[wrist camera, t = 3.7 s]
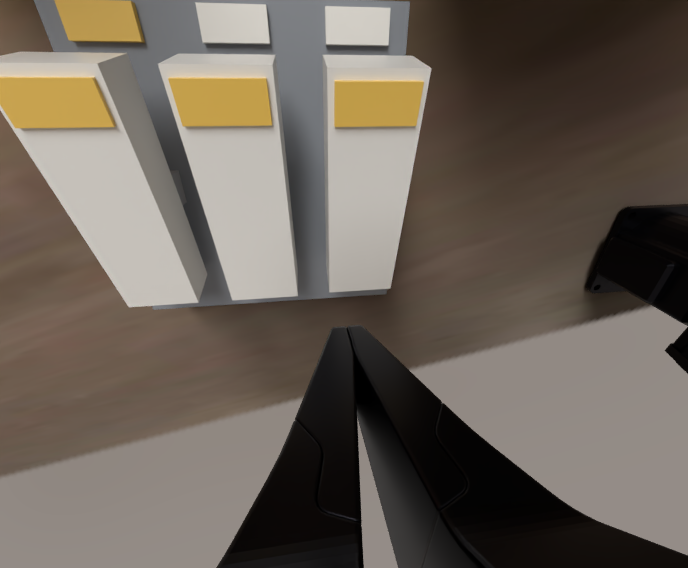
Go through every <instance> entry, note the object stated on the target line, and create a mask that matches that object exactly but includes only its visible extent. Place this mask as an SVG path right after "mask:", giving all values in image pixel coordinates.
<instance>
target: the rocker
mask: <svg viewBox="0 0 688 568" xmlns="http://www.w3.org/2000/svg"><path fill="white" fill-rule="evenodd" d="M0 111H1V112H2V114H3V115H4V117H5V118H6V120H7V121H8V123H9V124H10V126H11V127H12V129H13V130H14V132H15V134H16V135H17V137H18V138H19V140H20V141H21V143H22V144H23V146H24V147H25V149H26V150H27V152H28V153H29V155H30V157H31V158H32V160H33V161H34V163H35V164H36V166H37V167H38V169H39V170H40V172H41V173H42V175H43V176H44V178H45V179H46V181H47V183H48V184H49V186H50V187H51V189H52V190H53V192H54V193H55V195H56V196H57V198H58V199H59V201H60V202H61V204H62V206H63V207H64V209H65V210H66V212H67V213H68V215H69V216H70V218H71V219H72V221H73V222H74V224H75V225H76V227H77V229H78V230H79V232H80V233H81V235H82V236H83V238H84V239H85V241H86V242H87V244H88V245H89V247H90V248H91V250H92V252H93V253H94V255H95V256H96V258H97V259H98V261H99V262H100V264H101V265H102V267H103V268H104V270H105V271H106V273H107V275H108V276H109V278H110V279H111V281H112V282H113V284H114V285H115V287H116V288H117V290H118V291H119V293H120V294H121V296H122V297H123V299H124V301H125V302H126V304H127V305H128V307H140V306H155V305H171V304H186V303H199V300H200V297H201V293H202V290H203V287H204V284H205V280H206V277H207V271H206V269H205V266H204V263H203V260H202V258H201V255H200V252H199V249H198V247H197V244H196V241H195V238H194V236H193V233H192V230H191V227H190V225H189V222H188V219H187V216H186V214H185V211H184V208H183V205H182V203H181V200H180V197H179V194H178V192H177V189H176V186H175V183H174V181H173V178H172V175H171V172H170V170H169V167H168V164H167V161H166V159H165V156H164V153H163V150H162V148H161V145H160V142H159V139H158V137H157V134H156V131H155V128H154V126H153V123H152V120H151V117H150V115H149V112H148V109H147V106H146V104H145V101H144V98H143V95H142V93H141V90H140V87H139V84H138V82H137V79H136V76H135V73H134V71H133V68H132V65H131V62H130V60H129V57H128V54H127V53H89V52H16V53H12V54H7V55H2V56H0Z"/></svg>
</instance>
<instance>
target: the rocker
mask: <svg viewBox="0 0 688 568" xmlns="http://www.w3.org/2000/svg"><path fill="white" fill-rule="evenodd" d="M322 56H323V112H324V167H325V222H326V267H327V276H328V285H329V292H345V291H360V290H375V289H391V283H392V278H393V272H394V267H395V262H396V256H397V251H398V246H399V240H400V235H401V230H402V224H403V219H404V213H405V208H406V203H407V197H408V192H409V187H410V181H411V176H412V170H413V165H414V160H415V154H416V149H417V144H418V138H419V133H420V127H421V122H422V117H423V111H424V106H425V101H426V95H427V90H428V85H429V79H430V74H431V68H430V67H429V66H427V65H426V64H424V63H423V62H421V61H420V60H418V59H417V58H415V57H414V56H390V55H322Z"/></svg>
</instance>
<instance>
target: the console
mask: <svg viewBox="0 0 688 568" xmlns="http://www.w3.org/2000/svg"><path fill="white" fill-rule="evenodd" d="M34 2H35V5H36V7H37V10H38V12H39V15H40V18H41V20H42V23H43V25H44V28H45V31H46V33H47V36H48V38H49V41H50V43H51V46H52V49H53V51H54V52H89V53H127V54H128V57H129V60H130V62H131V65H132V68H133V71H134V73H135V76H136V79H137V82H138V84H139V87H140V90H141V93H142V95H143V98H144V101H145V104H146V106H147V109H148V112H149V115H150V117H151V120H152V123H153V126H154V128H155V131H156V134H157V137H158V139H159V142H160V145H161V148H162V150H163V153H164V156H165V159H166V161H167V164H168V167H169V170H170V172H171V175H172V178H173V181H174V183H175V186H176V189H177V192H178V194H179V197H180V200H181V203H182V205H183V208H184V211H185V214H186V216H187V219H188V222H189V225H190V227H191V230H192V233H193V236H194V238H195V241H196V244H197V247H198V249H199V252H200V255H201V258H202V260H203V263H204V266H205V269H206V271H207V277H206V280H205V284H204V287H203V290H202V293H201V297H200V300H199V303H186V304H171V305H155V306H152V307H153V310H155V309H170V308H185V307H200V306H215V305H230V304H245V303H260V302H275V301H290V300H305V299H320V298H335V297H350V296H365V295H380V294H386V293H387V289H375V290H360V291H345V292H329V285H328V276H327V267H326V222H325V167H324V112H323V56H322V55H390V56H406V45H407V33H408V20H409V8H410V2H407V1H374V0H34ZM176 54H262V55H276V63H277V73H278V83H279V93H280V102H281V112H282V122H283V132H284V141H285V151H286V161H287V171H288V180H289V190H290V200H291V210H292V219H293V229H294V239H295V249H296V259H297V268H298V296H293V297H278V298H262V299H247V300H232V298H231V294H230V291H229V288H228V285H227V282H226V279H225V275H224V272H223V269H222V266H221V263H220V260H219V256H218V253H217V250H216V247H215V244H214V241H213V237H212V234H211V231H210V228H209V225H208V222H207V218H206V215H205V212H204V209H203V206H202V203H201V199H200V196H199V193H198V190H197V187H196V184H195V180H194V177H193V174H192V171H191V168H190V165H189V161H188V158H187V155H186V152H185V149H184V146H183V142H182V139H181V136H180V133H179V130H178V127H177V123H176V120H175V117H174V114H173V111H172V108H171V104H170V101H169V98H168V95H167V92H166V89H165V85H164V82H163V79H162V76H161V73H160V70H159V66H158V64H159V63H161V62H163V61H164V60H166V59H168V58H170V57H172V56H174V55H176Z"/></svg>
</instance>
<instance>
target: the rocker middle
mask: <svg viewBox="0 0 688 568" xmlns="http://www.w3.org/2000/svg"><path fill="white" fill-rule="evenodd" d="M158 66H159V70H160V73H161V76H162V79H163V82H164V85H165V89H166V92H167V95H168V98H169V101H170V104H171V108H172V111H173V114H174V117H175V120H176V123H177V127H178V130H179V133H180V136H181V139H182V142H183V146H184V149H185V152H186V155H187V158H188V161H189V165H190V168H191V171H192V174H193V177H194V180H195V184H196V187H197V190H198V193H199V196H200V199H201V203H202V206H203V209H204V212H205V215H206V218H207V222H208V225H209V228H210V231H211V234H212V237H213V241H214V244H215V247H216V250H217V253H218V256H219V260H220V263H221V266H222V269H223V272H224V275H225V279H226V282H227V285H228V288H229V291H230V294H231V298H232V300H247V299H262V298H278V297H293V296H298V268H297V259H296V249H295V239H294V229H293V219H292V210H291V200H290V190H289V180H288V171H287V161H286V151H285V141H284V132H283V122H282V112H281V102H280V93H279V83H278V73H277V63H276V55H262V54H176V55H174V56H172V57H170V58H168V59H166V60H164V61H163V62H161V63H159V64H158Z"/></svg>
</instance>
